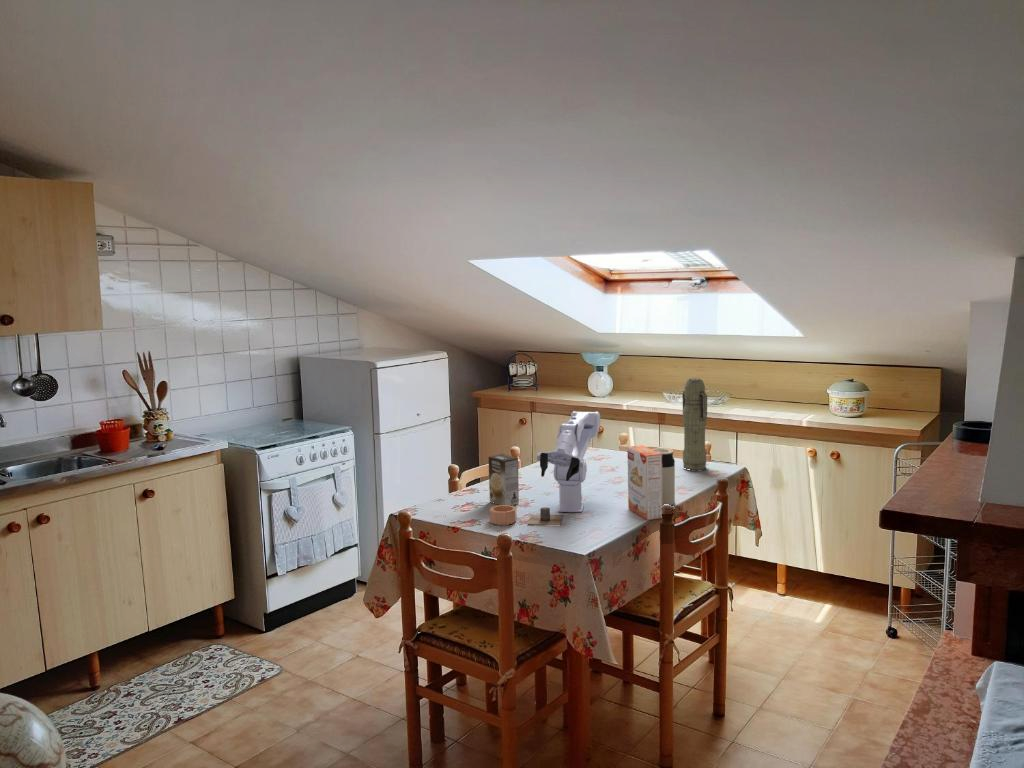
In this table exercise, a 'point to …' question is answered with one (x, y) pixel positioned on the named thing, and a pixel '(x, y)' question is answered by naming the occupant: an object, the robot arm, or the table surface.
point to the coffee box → (503, 479)
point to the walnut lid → (545, 518)
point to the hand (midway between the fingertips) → (554, 476)
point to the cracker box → (645, 482)
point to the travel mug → (667, 475)
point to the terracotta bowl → (503, 514)
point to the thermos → (694, 424)
